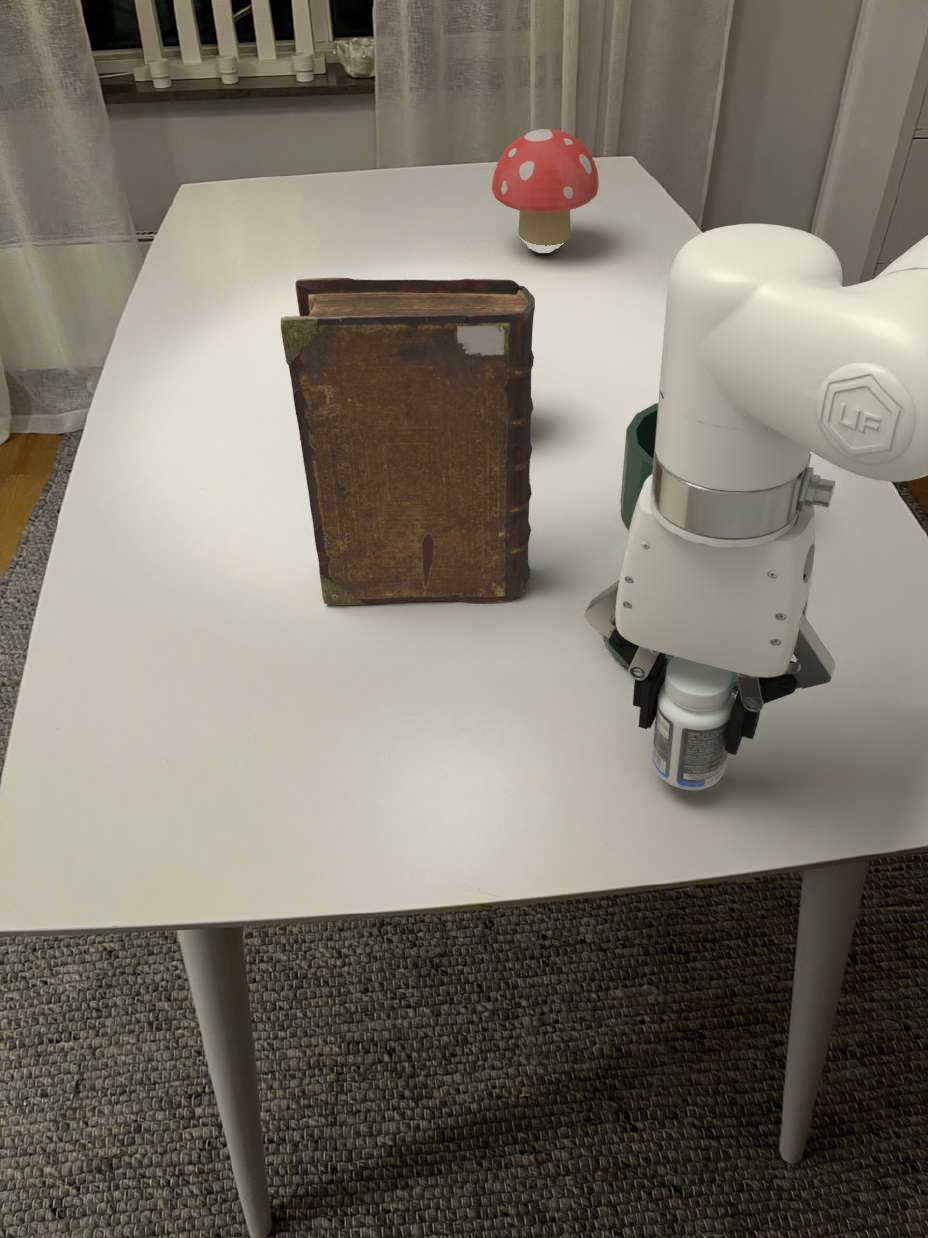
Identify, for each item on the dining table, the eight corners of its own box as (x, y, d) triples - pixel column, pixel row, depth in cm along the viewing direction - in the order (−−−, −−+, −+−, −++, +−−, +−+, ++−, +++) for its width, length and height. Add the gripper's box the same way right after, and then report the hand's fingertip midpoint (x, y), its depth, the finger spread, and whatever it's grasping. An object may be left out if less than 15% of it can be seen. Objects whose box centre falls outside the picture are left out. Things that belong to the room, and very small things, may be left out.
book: (533, 565, 85) (538, 275, 68) (526, 621, 80) (529, 322, 63) (338, 554, 87) (296, 270, 70) (319, 609, 82) (269, 315, 65)
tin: (780, 492, 92) (797, 414, 86) (746, 574, 83) (762, 493, 78) (646, 462, 96) (653, 386, 90) (600, 537, 87) (606, 458, 82)
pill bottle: (736, 754, 67) (753, 661, 61) (708, 803, 64) (723, 710, 58) (668, 727, 69) (679, 635, 63) (638, 774, 66) (647, 681, 60)
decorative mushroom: (479, 241, 137) (476, 122, 127) (572, 227, 140) (576, 109, 130) (512, 280, 127) (512, 154, 117) (611, 264, 130) (619, 139, 120)
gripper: (911, 476, 52) (843, 723, 63) (594, 418, 58) (586, 653, 69) (889, 561, 47) (819, 812, 58) (544, 487, 53) (545, 728, 64)
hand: (693, 723), depth 64 cm, fingers closed on pill bottle, 4 cm apart
